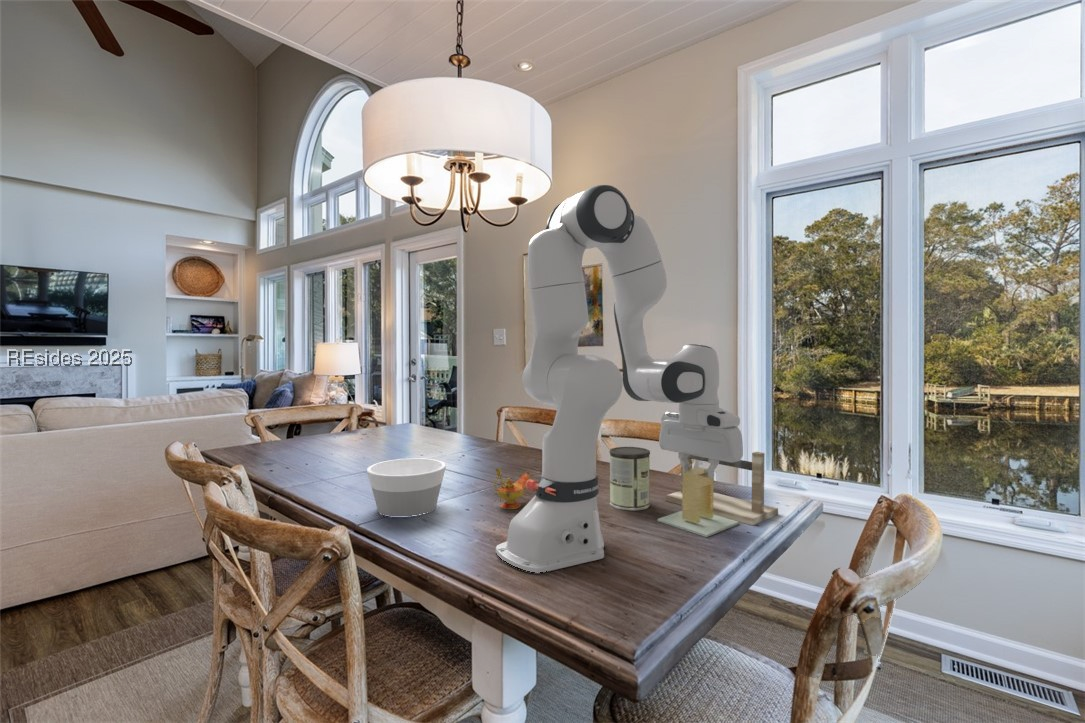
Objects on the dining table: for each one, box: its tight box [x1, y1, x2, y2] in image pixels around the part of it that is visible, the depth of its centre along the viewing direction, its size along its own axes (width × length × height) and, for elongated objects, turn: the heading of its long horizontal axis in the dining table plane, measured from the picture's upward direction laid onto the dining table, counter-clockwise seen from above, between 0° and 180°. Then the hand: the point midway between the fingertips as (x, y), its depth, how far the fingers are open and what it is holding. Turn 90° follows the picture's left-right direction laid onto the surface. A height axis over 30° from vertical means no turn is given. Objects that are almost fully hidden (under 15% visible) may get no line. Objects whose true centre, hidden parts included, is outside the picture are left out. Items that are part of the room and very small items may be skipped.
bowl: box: [366, 457, 447, 516], centre depth 126 cm, size 19×19×11 cm
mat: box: [656, 510, 740, 538], centre depth 116 cm, size 13×13×1 cm
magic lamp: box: [494, 468, 533, 510], centre depth 130 cm, size 7×18×11 cm, turn 152°
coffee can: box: [608, 446, 651, 511], centre depth 129 cm, size 10×10×14 cm
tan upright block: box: [681, 467, 715, 523], centre depth 116 cm, size 6×4×11 cm, turn 129°
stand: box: [665, 451, 779, 526], centre depth 127 cm, size 12×24×16 cm, turn 39°
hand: (698, 474), depth 116 cm, fingers open, 4 cm apart
